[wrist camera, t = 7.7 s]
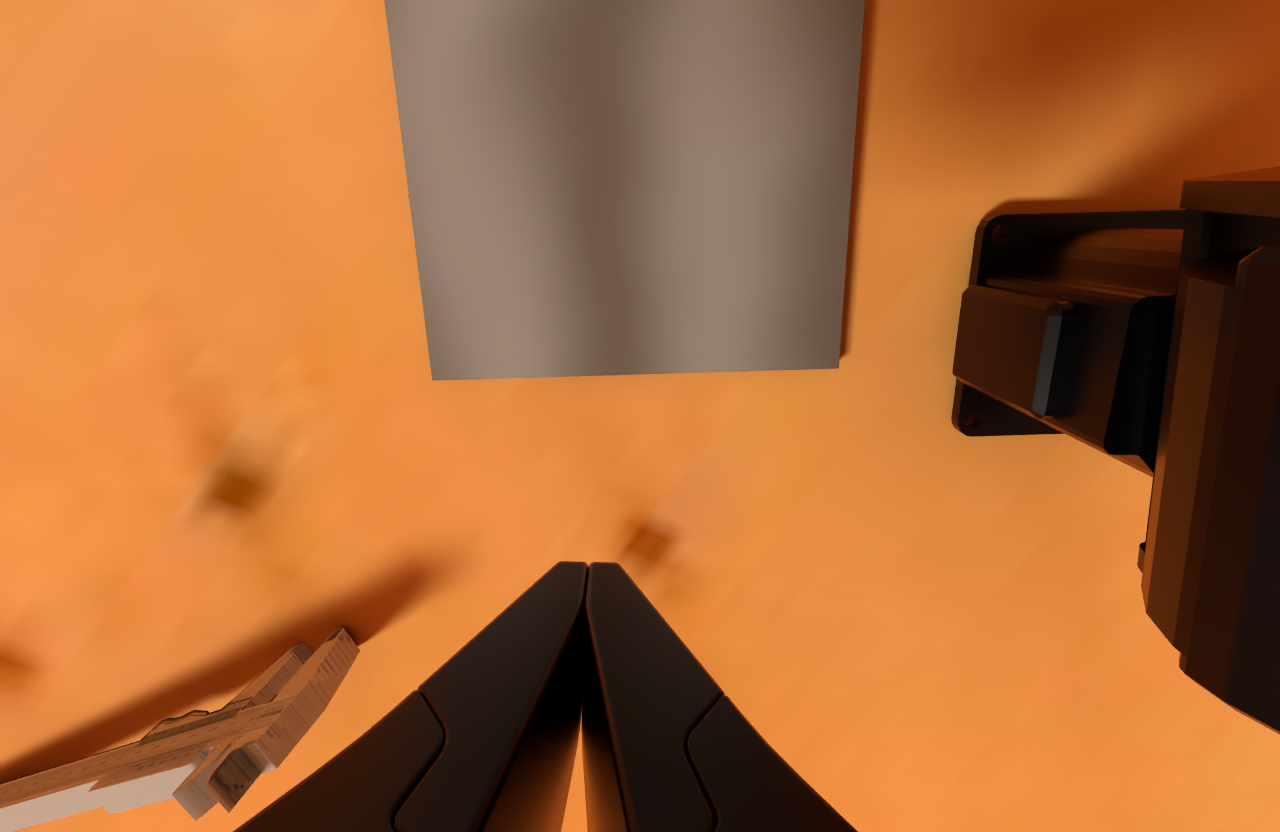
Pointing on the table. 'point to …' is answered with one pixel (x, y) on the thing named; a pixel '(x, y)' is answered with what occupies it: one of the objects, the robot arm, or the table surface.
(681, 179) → the subfloor panel
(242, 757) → the caliper
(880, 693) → the table surface
